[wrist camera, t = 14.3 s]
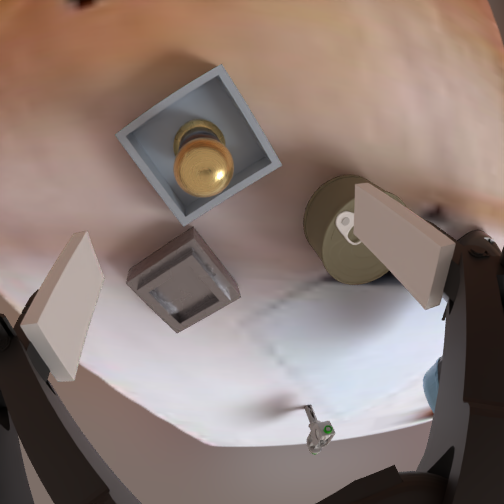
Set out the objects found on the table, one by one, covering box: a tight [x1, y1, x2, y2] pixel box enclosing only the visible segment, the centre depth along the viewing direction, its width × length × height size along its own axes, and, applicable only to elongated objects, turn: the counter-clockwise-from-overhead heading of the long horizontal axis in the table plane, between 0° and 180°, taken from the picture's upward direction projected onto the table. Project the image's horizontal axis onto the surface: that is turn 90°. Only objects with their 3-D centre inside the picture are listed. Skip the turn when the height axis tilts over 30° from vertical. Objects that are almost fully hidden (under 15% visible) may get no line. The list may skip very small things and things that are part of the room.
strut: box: [173, 119, 234, 198], centre depth 26 cm, size 5×5×13 cm
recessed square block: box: [126, 227, 241, 333], centre depth 38 cm, size 10×10×4 cm
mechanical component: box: [305, 406, 335, 454], centre depth 57 cm, size 3×10×10 cm, turn 174°
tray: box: [115, 64, 282, 227], centre depth 31 cm, size 12×12×4 cm
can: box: [303, 175, 406, 285], centre depth 37 cm, size 12×12×7 cm
